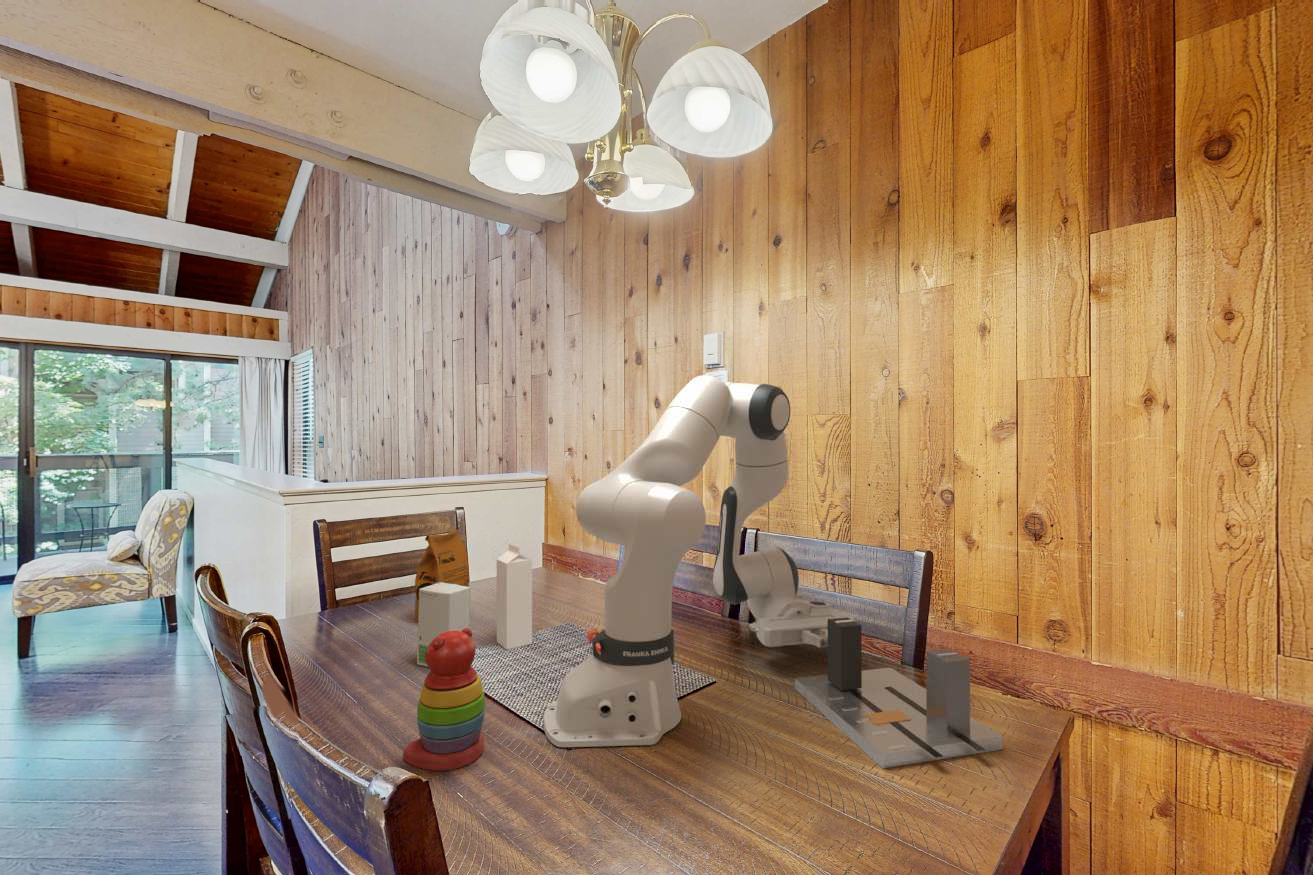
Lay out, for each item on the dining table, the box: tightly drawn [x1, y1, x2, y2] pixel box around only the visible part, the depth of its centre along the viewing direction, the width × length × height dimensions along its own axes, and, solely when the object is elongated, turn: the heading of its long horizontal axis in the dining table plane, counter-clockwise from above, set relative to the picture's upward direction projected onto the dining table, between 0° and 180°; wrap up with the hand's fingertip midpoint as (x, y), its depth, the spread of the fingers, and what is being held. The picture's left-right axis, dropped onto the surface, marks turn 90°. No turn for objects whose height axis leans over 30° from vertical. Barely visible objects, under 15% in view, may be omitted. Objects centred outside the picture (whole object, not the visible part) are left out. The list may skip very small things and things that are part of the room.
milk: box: [496, 543, 533, 651], centre depth 129 cm, size 6×6×22 cm
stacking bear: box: [403, 627, 486, 771], centre depth 84 cm, size 11×10×18 cm
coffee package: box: [414, 529, 470, 623], centre depth 147 cm, size 10×12×22 cm
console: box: [794, 648, 1003, 769], centre depth 94 cm, size 20×28×13 cm
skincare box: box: [416, 582, 471, 668], centre depth 118 cm, size 8×7×16 cm
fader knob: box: [827, 618, 863, 690], centre depth 102 cm, size 4×4×11 cm
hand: (826, 642), depth 108 cm, fingers closed
